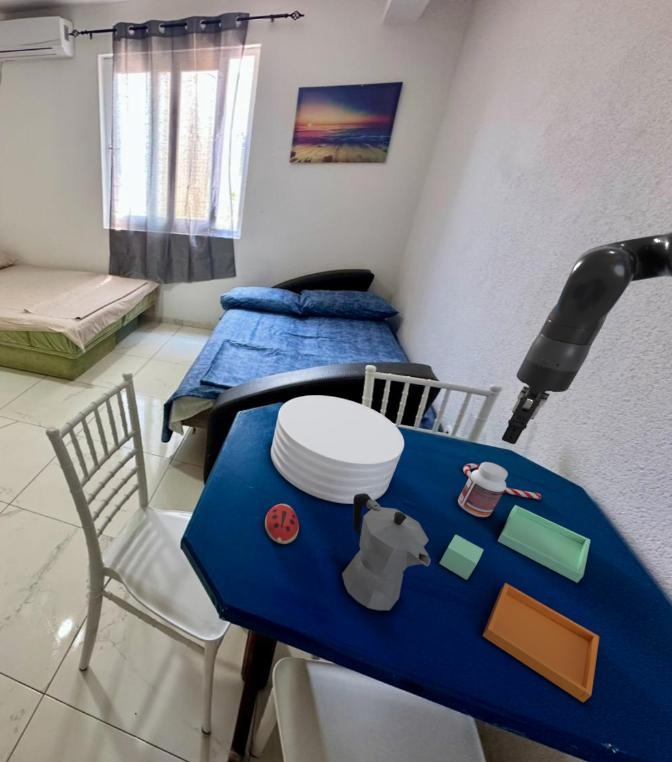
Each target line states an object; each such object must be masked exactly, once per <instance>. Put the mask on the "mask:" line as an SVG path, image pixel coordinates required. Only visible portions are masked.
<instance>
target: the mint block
mask: <svg viewBox="0 0 672 762" xmlns="http://www.w3.org/2000/svg"><path fill="white" fill-rule="evenodd" d="M483 552H484V549H483V548H482V547H479V546H478V545H476V544H474V543H473V542H471V541H469V540H467V539H465V538H464V537H462V536H459V535H458V534H456V533H455V535H454V536H453V537H452V540H451V541H450V542H449V544H448V546H447V548H446V550H445V552H444V554H443V555H442V557H441V559H440V561H439V563H438V564H439V565H441V566H443V567H444V568H446V569H447V570H448V571H451V572H452V573H454V574H456V575H457V576H459V577H461V578H462V579H464V580H466V581H467V580H468V579H469V577H470V576H471V575H472V573H473V571H474V570H475V568H476V567H477V565H478V564H479V563H478V562H479V561H480V559H481V557H482V554H483Z"/></svg>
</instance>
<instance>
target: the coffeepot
mask: <svg viewBox="0 0 672 762" xmlns="http://www.w3.org/2000/svg"><path fill="white" fill-rule="evenodd" d="M363 506H364V507H365V508H366V509H367V512H366V513H365V514H364V515H363V516H362V511H363ZM352 507H353V509H352V529H353V530H354V531H355V532H356V534H357V535H359V536H360V538H359V549H360V550H359V551H358V552H357V553H356V554H355V555H354V557H353V558H352V559H351V561H350V563H348V565H347V567H346V568H345V569H344V571H343V572H342V573H341V575H342V579H343V584H344V587H345V589H346V591H347V593H348V594H349V595H350V596H351V597H352V598H353V599H354V600H355V601H357V603H359V604H361V605H362V606H364V607H365V608H368V609H371V610H375V611H390V610H391V609H392V608H393V607H394V606H395V604H396V602H397V601H398V600H399V598H400V595H401V589H402V588H401V587H402V583H403V577H404V572H405V571H406V569H407V568H408V567H412V566H417V565H423V566H425V567H429V566H430V565H431V558H430V555H429V554H428V551H427V549H425V546H426V545H427V544H428V542H429V538H428V536H427V534H426V533H425V531H424V529H423V527H422V526H421V524H420V522H419V521H417V520H415V519H414V518H412V517H411V516H409V515H407V514H406V513H403V512H402V511H400V510H399V509H397V508H393V507H382V506H381V505H380V504H379V503H378V502H377V500H376V499H375V500H372V499H371V498H370V496H369V495H368V494H366V493H363V494H356V495H355V496H354V499H353V504H352ZM362 517H363V518H362ZM361 523H362V524H361Z"/></svg>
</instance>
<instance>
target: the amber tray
mask: <svg viewBox="0 0 672 762" xmlns="http://www.w3.org/2000/svg"><path fill="white" fill-rule="evenodd" d="M482 637H483V638H485V639H486V640H487V641H489V642H491V643H492V644H493V645H495V646H496V647H498V648H499V649H501V650H503V651H504V652H506V653H507V654H509V655H511V657H514V658H515V659H516V660H518V661H520V662H521V663H522V664H524V665H525V666H527V667H528V668H530V669H531V670H533V671H534V672H536V673H538V674H539V675H541V676H542V677H544V678H545V679H547V680H548V681H549V682H551V683H553V684H554V685H556V686H558V687H559V689H562V690H563V691H565V693H566V692H567V693H568V694H570V695H571V696H572V697H574V698H575V699H577V700H578V701H580V702H581V703H583V704H584V702H586V701H587V700H588V699H589V698H590V697H592V693H593V686H594V680H595V671H596V664H597V657H598V649H599V643H600V636H599V635H598V634H597V633H594V632H593V631H591V630H589V629H587V628H586V627H584V626H582V625H580V624H578V623H577V622H574V620H571V619H570V618H568V617H566V616H564V615H562V614H561V613H559V612H557V611H556V610H554V609H553V608H550V607H548V606H547V605H545V604H543V603H542V602H540V601H538V600H537V599H535V598H533V597H532V596H529V595H528V594H526V593H524V592H522V591H521V590H519V589H518V588H516V587H514V586H512V585H510V584H508V583H506V582H505V583H504V584H503V585H502V587H501V588H500V590H499V592H498V595H497V598H496V600H495V603H494V605H493V608H492V611H491V613H490V616H489V618H488V620H487V623H486V625H485V628H484V631H483V634H482Z"/></svg>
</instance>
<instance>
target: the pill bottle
mask: <svg viewBox="0 0 672 762" xmlns="http://www.w3.org/2000/svg"><path fill="white" fill-rule="evenodd" d="M479 465H480V467H479V470H478V469H474V470H473V471H472V472H471V475H470V477H469V478H468V479H467V481H466V483H465V484H464V487H463V489H462V491H461V492H460V495H459V497H458V499H457V501H458V505H459V506H460V508H462V509H463V510H464V511H465V512H466V513H469V514H470V515H473V516H475V517H479V518H487V517H489V516H491V515H492V513H493V511H494V510H495V508H496V506H497V505H498V503H499V501H500V499H501V497H502V496H503V494H504V490H505V488H507V482H506V481H505V480H507V477H508V475H509V473H508V471H507V470H506V469H505V468H504V467H503V466H500V465H499V464H497V463H493V462H489V461H484V462H482V463H480V464H479Z"/></svg>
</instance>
